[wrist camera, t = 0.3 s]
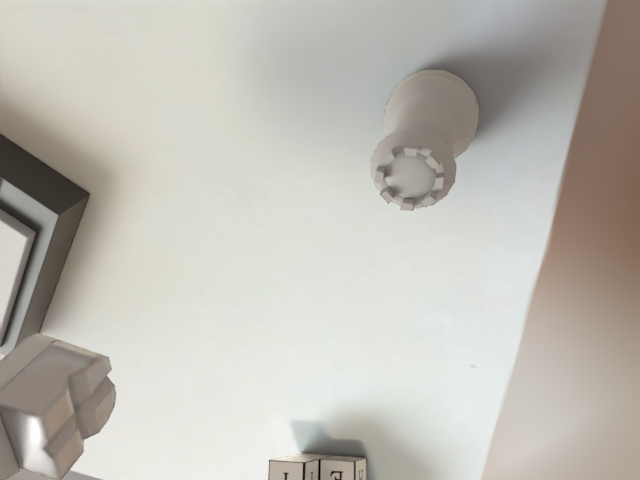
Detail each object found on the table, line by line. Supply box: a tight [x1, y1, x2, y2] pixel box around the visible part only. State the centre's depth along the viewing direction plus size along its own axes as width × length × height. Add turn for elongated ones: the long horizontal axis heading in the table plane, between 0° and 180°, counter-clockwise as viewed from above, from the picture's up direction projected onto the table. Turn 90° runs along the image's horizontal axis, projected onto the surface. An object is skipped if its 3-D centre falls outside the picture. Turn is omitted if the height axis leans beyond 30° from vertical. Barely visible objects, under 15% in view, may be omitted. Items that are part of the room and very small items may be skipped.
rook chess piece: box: [371, 69, 480, 211], centre depth 24 cm, size 4×4×8 cm
